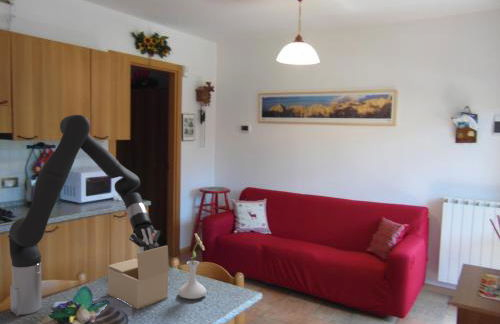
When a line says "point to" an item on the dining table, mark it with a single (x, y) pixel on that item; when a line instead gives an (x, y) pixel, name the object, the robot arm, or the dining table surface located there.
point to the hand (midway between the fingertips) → (152, 254)
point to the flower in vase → (193, 279)
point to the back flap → (125, 265)
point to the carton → (137, 287)
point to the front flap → (152, 262)
